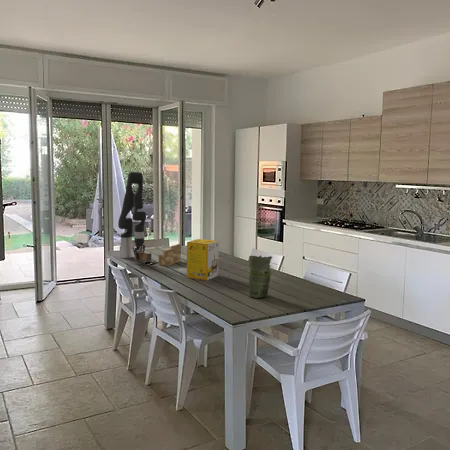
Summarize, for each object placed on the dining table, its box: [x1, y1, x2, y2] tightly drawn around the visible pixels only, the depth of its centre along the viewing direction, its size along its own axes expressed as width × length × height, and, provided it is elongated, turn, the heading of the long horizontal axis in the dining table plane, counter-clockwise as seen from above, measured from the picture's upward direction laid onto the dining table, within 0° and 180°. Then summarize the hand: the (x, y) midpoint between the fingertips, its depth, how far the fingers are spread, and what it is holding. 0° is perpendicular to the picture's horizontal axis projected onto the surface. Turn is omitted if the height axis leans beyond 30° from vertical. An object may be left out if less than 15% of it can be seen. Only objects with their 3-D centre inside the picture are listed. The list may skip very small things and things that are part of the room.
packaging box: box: [186, 238, 220, 281], centre depth 321 cm, size 16×16×25 cm
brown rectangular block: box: [134, 252, 152, 263], centre depth 357 cm, size 13×4×6 cm, turn 66°
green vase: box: [248, 255, 273, 299], centre depth 275 cm, size 11×12×25 cm
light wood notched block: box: [157, 243, 182, 267], centre depth 364 cm, size 8×21×14 cm, turn 156°
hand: (139, 258), depth 359 cm, fingers closed on brown rectangular block, 4 cm apart
